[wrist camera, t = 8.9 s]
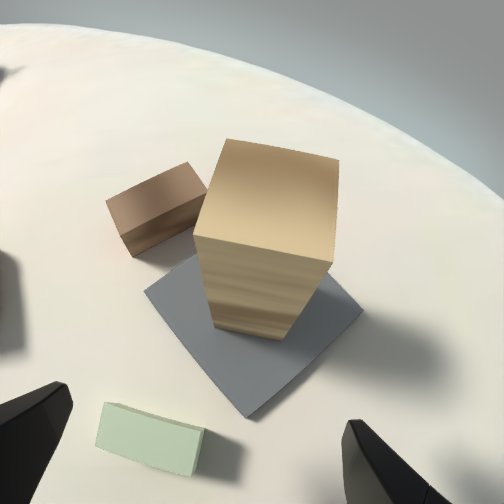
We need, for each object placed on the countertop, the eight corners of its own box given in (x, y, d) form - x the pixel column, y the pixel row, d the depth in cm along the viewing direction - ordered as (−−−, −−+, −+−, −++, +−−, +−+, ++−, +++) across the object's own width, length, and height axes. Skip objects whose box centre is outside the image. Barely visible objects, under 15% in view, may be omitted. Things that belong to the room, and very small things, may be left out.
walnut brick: (191, 189, 27) (187, 161, 24) (211, 218, 26) (208, 191, 23) (118, 225, 25) (105, 200, 22) (133, 258, 24) (119, 235, 21)
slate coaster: (359, 313, 23) (363, 310, 22) (244, 418, 19) (245, 418, 18) (260, 213, 26) (261, 207, 25) (146, 294, 22) (143, 291, 22)
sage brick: (205, 427, 19) (200, 431, 16) (196, 468, 17) (190, 477, 15) (120, 403, 19) (104, 402, 16) (112, 442, 17) (94, 446, 15)
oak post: (281, 340, 21) (333, 262, 10) (214, 327, 21) (192, 234, 10) (291, 279, 23) (339, 160, 12) (229, 266, 23) (226, 138, 12)
